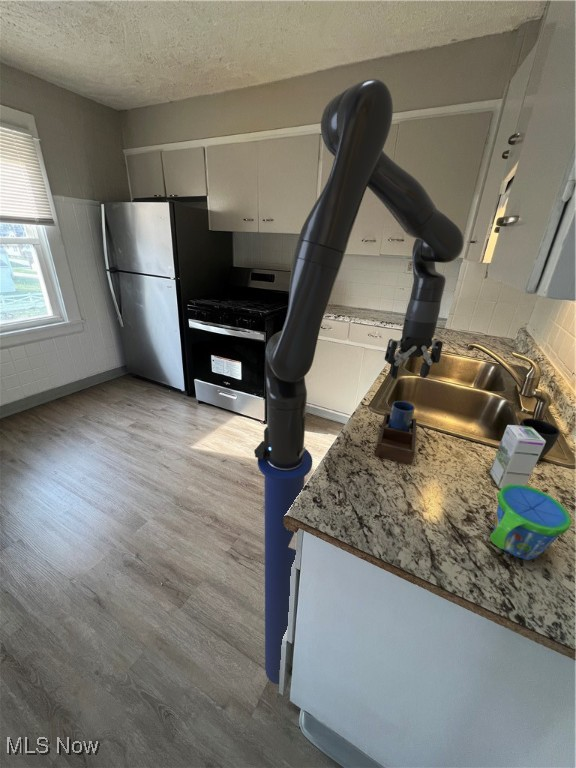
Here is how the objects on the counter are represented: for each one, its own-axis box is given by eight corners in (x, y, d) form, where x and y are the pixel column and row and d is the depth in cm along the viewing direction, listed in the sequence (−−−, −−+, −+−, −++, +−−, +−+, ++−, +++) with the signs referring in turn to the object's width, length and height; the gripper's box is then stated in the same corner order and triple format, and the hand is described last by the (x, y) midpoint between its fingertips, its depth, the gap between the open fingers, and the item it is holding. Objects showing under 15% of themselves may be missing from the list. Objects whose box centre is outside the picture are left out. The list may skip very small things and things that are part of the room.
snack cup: (510, 582, 53) (532, 541, 49) (461, 531, 62) (476, 493, 58) (571, 556, 58) (596, 516, 54) (517, 512, 67) (535, 476, 63)
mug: (489, 443, 90) (500, 415, 86) (534, 448, 89) (547, 419, 85) (503, 462, 83) (515, 432, 79) (552, 467, 81) (567, 437, 77)
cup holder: (375, 456, 83) (377, 443, 82) (382, 423, 98) (385, 412, 96) (411, 465, 80) (414, 452, 79) (413, 430, 95) (416, 418, 93)
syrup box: (524, 492, 73) (548, 441, 67) (497, 488, 74) (518, 437, 67) (512, 475, 78) (534, 426, 72) (487, 472, 79) (506, 423, 72)
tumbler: (386, 435, 91) (391, 408, 87) (388, 425, 96) (393, 399, 92) (408, 440, 89) (414, 413, 85) (409, 429, 94) (415, 403, 90)
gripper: (438, 314, 82) (424, 371, 89) (387, 314, 80) (377, 372, 87) (456, 321, 75) (440, 382, 82) (401, 321, 73) (389, 383, 80)
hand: (407, 377), depth 85 cm, fingers open, 8 cm apart
